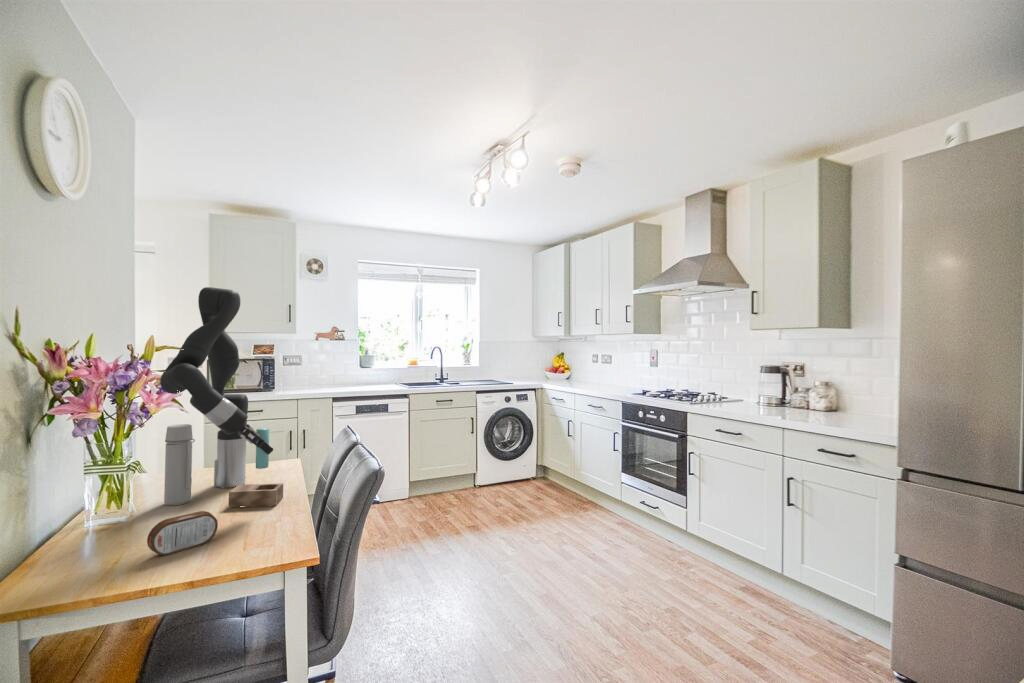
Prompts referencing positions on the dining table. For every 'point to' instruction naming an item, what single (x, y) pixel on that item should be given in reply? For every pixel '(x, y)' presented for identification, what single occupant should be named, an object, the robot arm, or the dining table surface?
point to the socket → (256, 495)
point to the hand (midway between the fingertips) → (269, 450)
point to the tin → (182, 532)
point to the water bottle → (178, 464)
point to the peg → (261, 456)
